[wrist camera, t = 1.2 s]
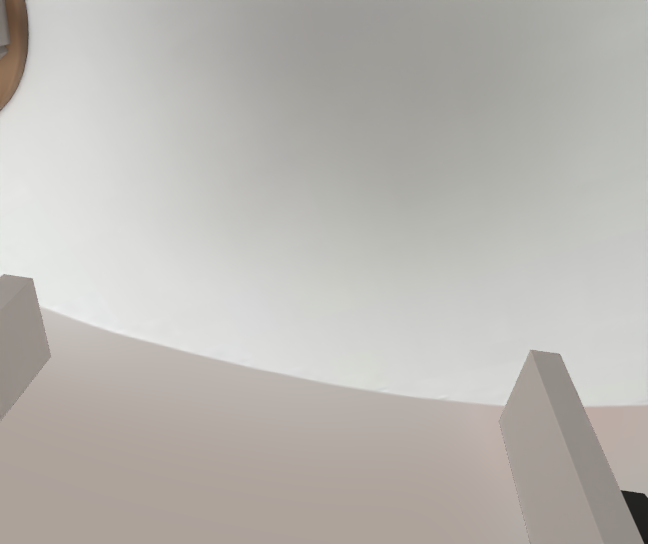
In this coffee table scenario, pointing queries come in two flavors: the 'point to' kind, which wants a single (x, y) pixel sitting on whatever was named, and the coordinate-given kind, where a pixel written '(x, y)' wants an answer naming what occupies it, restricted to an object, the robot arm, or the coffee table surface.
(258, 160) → the coffee table surface
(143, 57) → the coffee table surface
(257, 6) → the coffee table surface
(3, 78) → the carrier plate
